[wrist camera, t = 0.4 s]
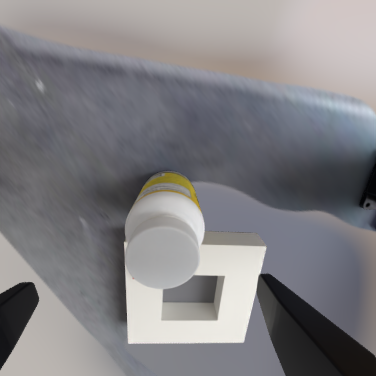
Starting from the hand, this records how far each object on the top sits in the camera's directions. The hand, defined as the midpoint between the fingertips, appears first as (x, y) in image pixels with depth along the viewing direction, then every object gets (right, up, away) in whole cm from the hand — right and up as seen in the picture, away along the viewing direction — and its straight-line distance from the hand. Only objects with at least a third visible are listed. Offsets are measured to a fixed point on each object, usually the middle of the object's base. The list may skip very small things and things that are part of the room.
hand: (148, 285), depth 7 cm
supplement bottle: (0, +3, +12) cm, 12 cm away
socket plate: (+2, -7, +15) cm, 17 cm away
